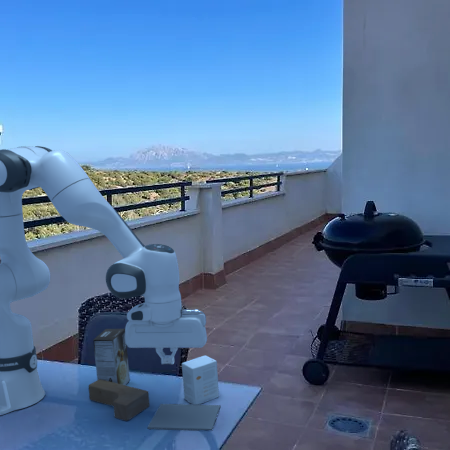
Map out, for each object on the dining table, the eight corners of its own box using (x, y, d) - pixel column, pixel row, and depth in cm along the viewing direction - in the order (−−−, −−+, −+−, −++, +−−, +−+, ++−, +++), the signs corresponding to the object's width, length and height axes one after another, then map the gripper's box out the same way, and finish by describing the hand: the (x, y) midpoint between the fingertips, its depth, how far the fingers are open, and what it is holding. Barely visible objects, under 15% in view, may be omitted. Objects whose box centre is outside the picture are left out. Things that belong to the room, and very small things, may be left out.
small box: (208, 390, 151) (205, 354, 149) (219, 397, 146) (217, 360, 145) (183, 399, 146) (181, 362, 145) (194, 406, 142) (192, 368, 140)
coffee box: (110, 379, 162) (105, 328, 159) (130, 380, 160) (126, 328, 158) (97, 393, 153) (92, 339, 150) (119, 394, 152) (114, 339, 149)
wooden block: (125, 405, 135) (75, 391, 144) (127, 421, 135) (76, 407, 145) (148, 390, 142) (99, 378, 152) (150, 406, 143) (100, 393, 152)
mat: (147, 429, 131) (147, 427, 131) (160, 405, 143) (160, 403, 143) (212, 430, 129) (212, 428, 129) (220, 406, 141) (220, 405, 141)
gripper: (207, 305, 134) (211, 358, 136) (128, 306, 137) (133, 358, 139) (202, 313, 128) (206, 368, 130) (120, 314, 131) (125, 368, 133)
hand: (168, 363), depth 134 cm, fingers closed
